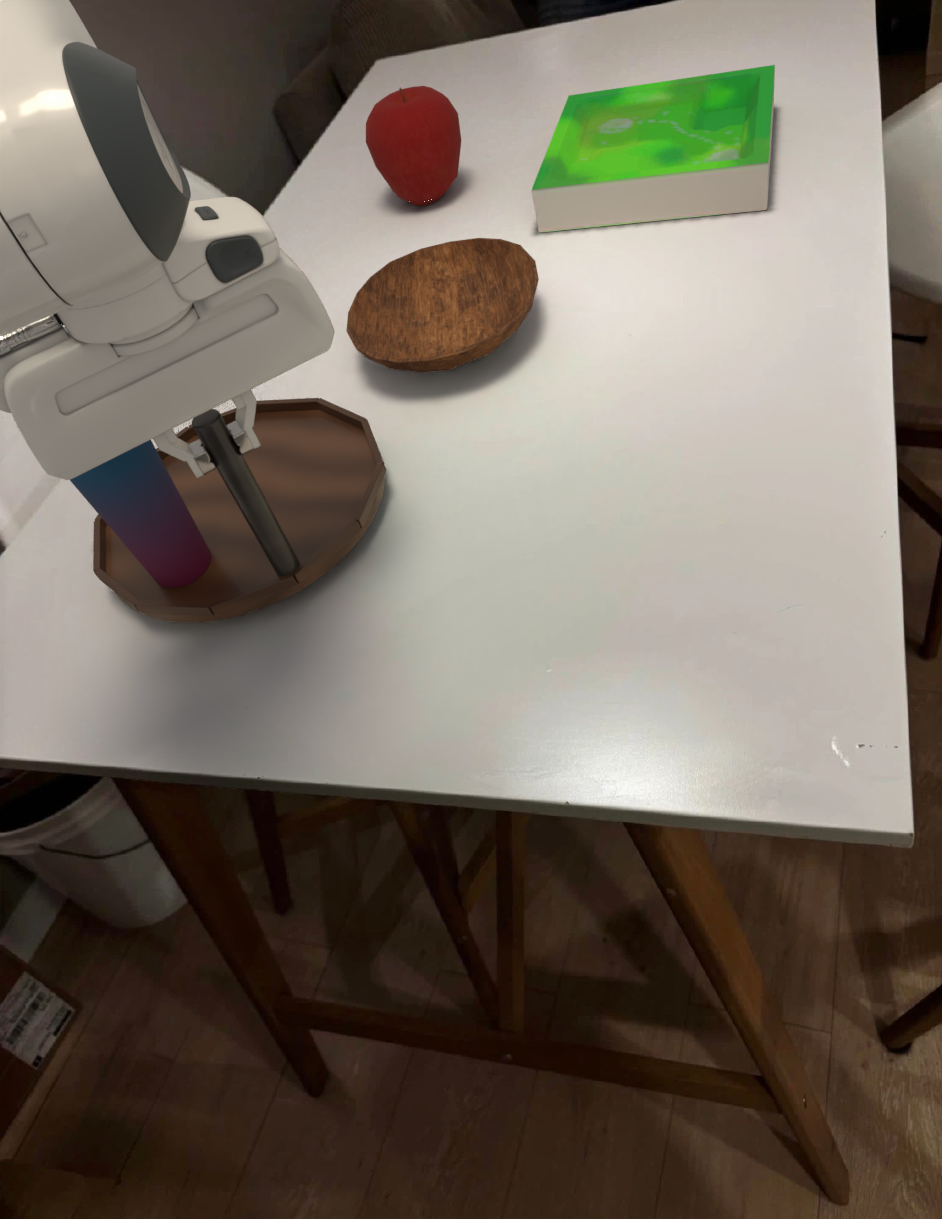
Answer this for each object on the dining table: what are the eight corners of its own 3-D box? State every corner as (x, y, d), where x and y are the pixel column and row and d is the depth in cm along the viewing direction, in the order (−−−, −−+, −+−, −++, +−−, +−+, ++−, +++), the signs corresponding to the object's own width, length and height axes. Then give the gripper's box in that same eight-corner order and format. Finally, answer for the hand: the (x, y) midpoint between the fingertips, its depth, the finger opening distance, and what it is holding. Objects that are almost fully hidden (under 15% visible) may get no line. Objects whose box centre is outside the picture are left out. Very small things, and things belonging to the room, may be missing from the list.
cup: (155, 610, 71) (48, 468, 60) (136, 563, 76) (33, 422, 65) (232, 568, 72) (141, 421, 61) (208, 524, 77) (119, 380, 66)
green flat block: (538, 232, 103) (531, 189, 99) (574, 135, 118) (568, 95, 114) (767, 209, 95) (768, 162, 91) (773, 109, 110) (774, 64, 106)
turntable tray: (329, 629, 67) (238, 462, 55) (52, 617, 75) (-81, 469, 63) (419, 410, 82) (363, 242, 70) (181, 420, 91) (95, 271, 78)
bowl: (547, 266, 97) (539, 222, 94) (545, 387, 83) (536, 341, 79) (376, 296, 101) (362, 255, 98) (346, 416, 87) (329, 374, 84)
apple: (472, 209, 110) (446, 94, 101) (382, 228, 112) (348, 117, 103) (474, 167, 118) (450, 56, 108) (390, 185, 120) (359, 79, 110)
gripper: (-43, 378, 48) (96, 555, 58) (297, 218, 51) (372, 412, 61) (-52, 332, 52) (79, 505, 62) (263, 187, 55) (339, 374, 65)
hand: (227, 458), depth 61 cm, fingers closed on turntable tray, 2 cm apart
